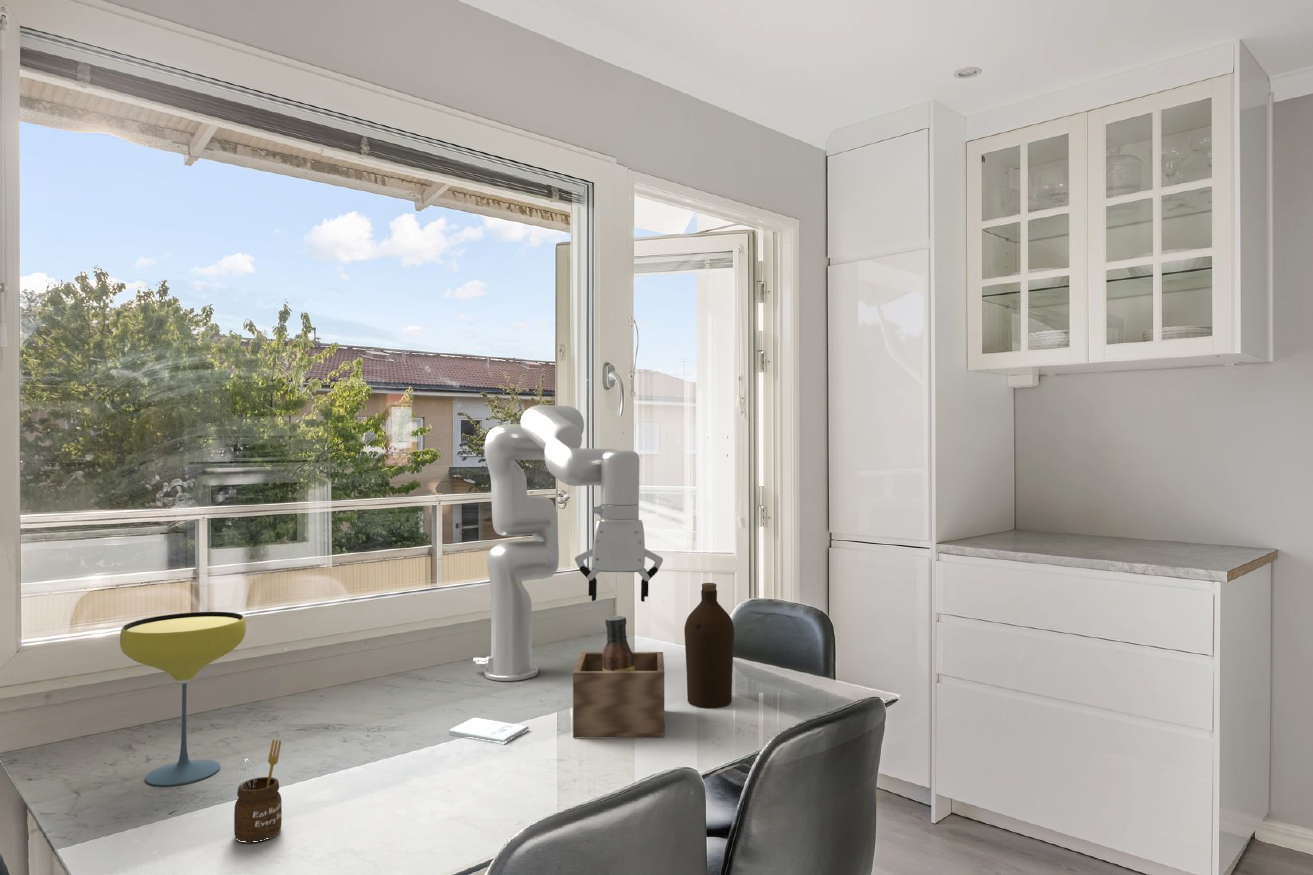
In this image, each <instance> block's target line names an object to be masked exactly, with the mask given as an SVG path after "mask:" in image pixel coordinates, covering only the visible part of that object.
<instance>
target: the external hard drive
mask: <svg viewBox="0 0 1313 875" xmlns="http://www.w3.org/2000/svg"><path fill="white" fill-rule="evenodd" d="M529 728H530V727H529V726H527V725H520V724H516V723H510V722H504V721H498V720H492V719H485V718H480V717H473V718H471V719H468V720H466V721H465V722H462V723H460V724H458V725H455V726H454V727H452V728H450V729H449V730H448V733H449V734H448V735H449V736H452V737H457V736H458V738H463V737H473V738H479V739H485V740H491V741H500V742H505V741H508V740H510V739H511V738H513V737H515V738H517V737H518V736H517V735H519V734H521V733H523V732H525V731H526V730H527V729H529ZM529 730H530V729H529ZM516 736H517V737H516Z"/></svg>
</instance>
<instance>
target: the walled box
mask: <svg viewBox="0 0 1313 875" xmlns="http://www.w3.org/2000/svg"><path fill="white" fill-rule="evenodd" d="M632 655H633V659H634V668H635V671H603V658H602V656H603V651H586V652H585V651H583V652H582V651H581V652H579V656H578V658H577V661H576V664H575V667H574V670H573V673H572V697H573V698H572V737H620V738H619V739H621V738H625V739H627V738H630V739H634V738H645V739H646V738H648V739H649V738H665V730H666V729H665V723H666V722H665V712H666V711H665V660H664V651H632Z"/></svg>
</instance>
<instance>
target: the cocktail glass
mask: <svg viewBox="0 0 1313 875" xmlns="http://www.w3.org/2000/svg"><path fill="white" fill-rule="evenodd" d="M246 629H247V624H246V618H245V616H244V615H243V614H240V613H237V612H229V611H197V612H195V611H194V612H193V611H192V612H182V613H172V614H165V615H159V616H152V617H147V618H142V619H139V620H134V621H132V622H128V623H126V624H125V625H123V626H122V628H121V629H120V635H119V645H120V649H121V652H122V653H123V654H124V655H125V656H126V657H128V658H129V659H131V660H132V661H134V662H137V663H139V664H142V665H145V666H148V667H151V668H154V669H158V670H161V671H163V672H166V673H167V674H169V675H170V676H171V677H172V678H173V679H174V680H175V681H176V682H177V683H179V684H180V685H181V690H182V691H181V693H182V694H181V733H180V735H181V736H180V737H181V739H180V751H179V756H178V761H177V762H172V763H169V764H165V765H163V766H160V767H157V768H154V769H153V770H151V771H150V772H148V773H146V776H145V777H144V780H145V783H147V784H148V785H151V786H155V787H175V786H182V785H187V784H191V783H195V782H198V781H199V782H200V781H202V780H204V779H208V778H209V776H210V777H212V776H213V775H215V774H217V773H218V772H219V770H220V769H221V764H220V762H219V761H216V760H213V759H204V758H203V759H202V758H199V759H189V756H188V755H189V754H188V744H187V743H188V742H187V687H188V686H187V684H188V683H190V682H191V681H192V680H193V679H195V678H194V677H195V676H196V675H197V674H198V673H199V672H200V670H201V669H203V668H204V667H206V666H207V665H209V664H211V663H212V662H214V661H217V660H218V659H220V658H222V657H224V656H226V655H227V654H229V653H230V652H232V651H233V650H235V648H237V647H238V646H239V645H241V643H242V642H243V641H244V638H245V635H246V631H247V630H246ZM207 777H208V778H207Z"/></svg>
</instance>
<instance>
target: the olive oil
mask: <svg viewBox="0 0 1313 875" xmlns="http://www.w3.org/2000/svg"><path fill="white" fill-rule="evenodd" d="M700 592H701V593H700V596H701V597H700V598H701V599H700V600H701V601H700V603H698V605H697V606H695V608H694V609H693V610H692V611H691V612H690V614H689V615H688V616H687V618H686V620H685V624H684V630H683V631H684V647H685V648H684V649H685V665H686V666H685V668H686V689H687V690H686V691H687V692H686V693H687V694H686V696H687V698H686V699H687V702H688V703H689V704H690V705H691V706H694V707H697V708H698V707H699V708H705V709H714V708H715V709H716V708H718V709H719V708H723V707H727V706H729V705H731V704H732V701H733V699H732V698H733V696H732V695H733V667H734V664H733V663H734V647H735V646H734V642H735V627H734V623H733V620H732V618H731V616H730V615H729V613H728V612H727V611H726V610H725V609H724V608H723V607H722V606H721V604H720V603H719V601H718V590H717V583H714V582H703V583H701V591H700Z"/></svg>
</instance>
